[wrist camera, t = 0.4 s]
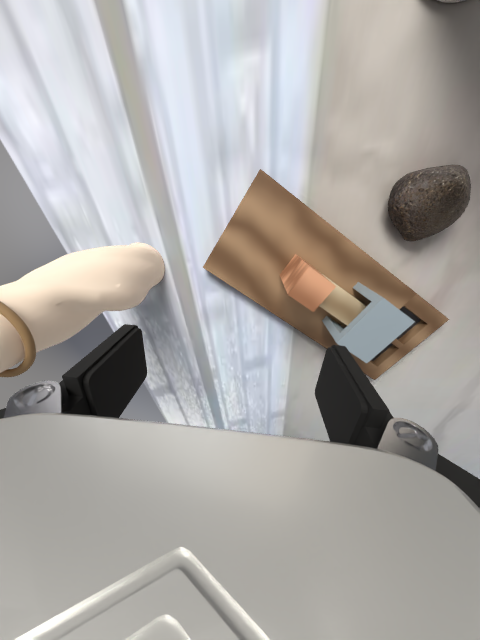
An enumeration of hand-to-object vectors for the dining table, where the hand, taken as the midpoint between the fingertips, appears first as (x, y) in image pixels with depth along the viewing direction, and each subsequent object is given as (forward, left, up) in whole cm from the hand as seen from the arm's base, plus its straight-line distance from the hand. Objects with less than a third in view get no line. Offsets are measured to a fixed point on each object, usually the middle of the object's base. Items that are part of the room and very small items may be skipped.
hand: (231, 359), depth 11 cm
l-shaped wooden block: (-3, +14, -27) cm, 30 cm away
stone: (-20, +16, -29) cm, 39 cm away
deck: (-3, +14, -29) cm, 32 cm away
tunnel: (-3, +19, -27) cm, 33 cm away
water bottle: (+12, -15, -29) cm, 34 cm away
